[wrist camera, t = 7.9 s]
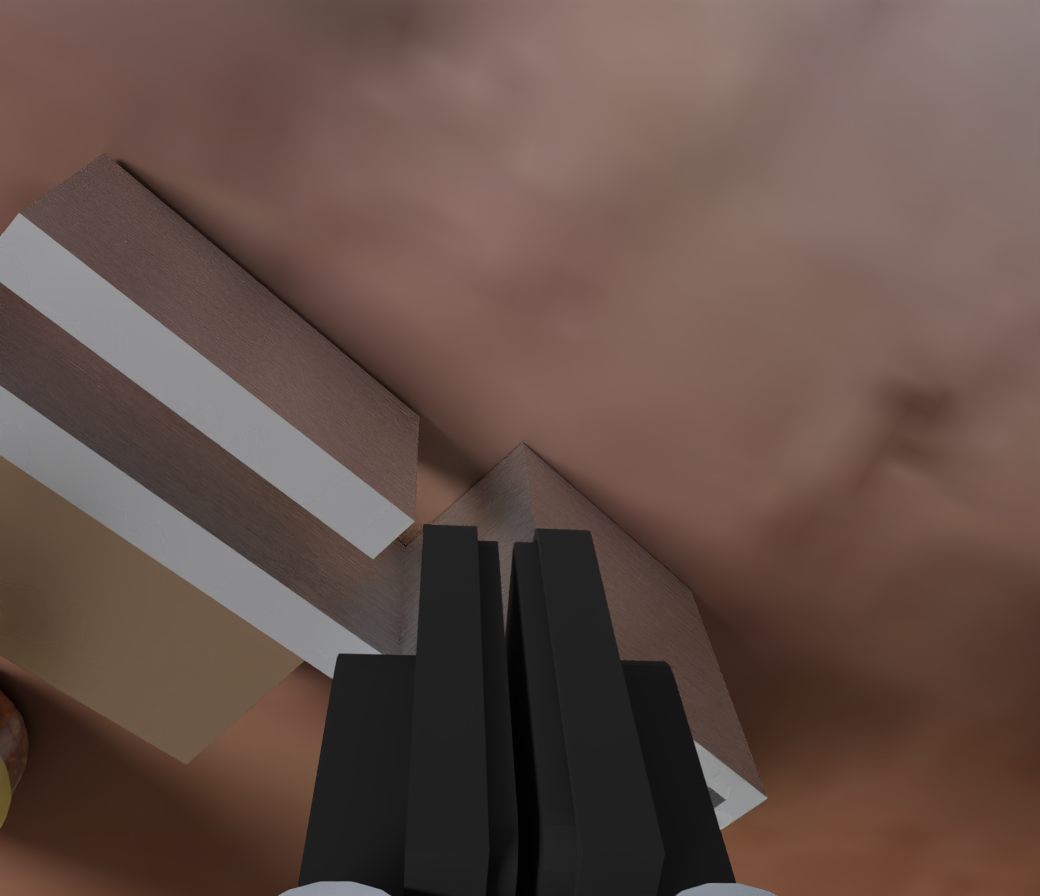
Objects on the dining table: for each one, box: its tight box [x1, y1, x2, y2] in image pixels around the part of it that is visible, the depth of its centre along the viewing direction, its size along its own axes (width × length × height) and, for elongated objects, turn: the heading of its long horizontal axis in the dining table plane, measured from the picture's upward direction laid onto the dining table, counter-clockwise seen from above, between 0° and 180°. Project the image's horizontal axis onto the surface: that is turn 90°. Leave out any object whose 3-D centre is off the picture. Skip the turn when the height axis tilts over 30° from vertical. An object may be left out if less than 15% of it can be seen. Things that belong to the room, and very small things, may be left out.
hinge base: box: [0, 282, 767, 830], centre depth 21 cm, size 18×9×7 cm, turn 44°
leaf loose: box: [0, 153, 419, 559], centre depth 19 cm, size 8×1×4 cm, turn 45°
